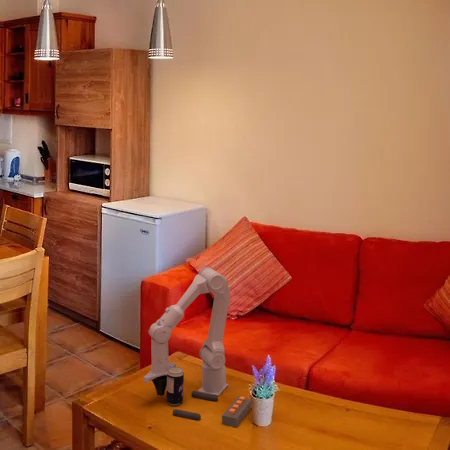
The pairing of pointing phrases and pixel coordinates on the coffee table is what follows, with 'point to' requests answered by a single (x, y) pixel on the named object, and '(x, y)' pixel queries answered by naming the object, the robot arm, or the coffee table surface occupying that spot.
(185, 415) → the cord
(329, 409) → the coffee table surface
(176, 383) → the beverage can
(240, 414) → the breaker strip
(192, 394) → the cord
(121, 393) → the coffee table surface
